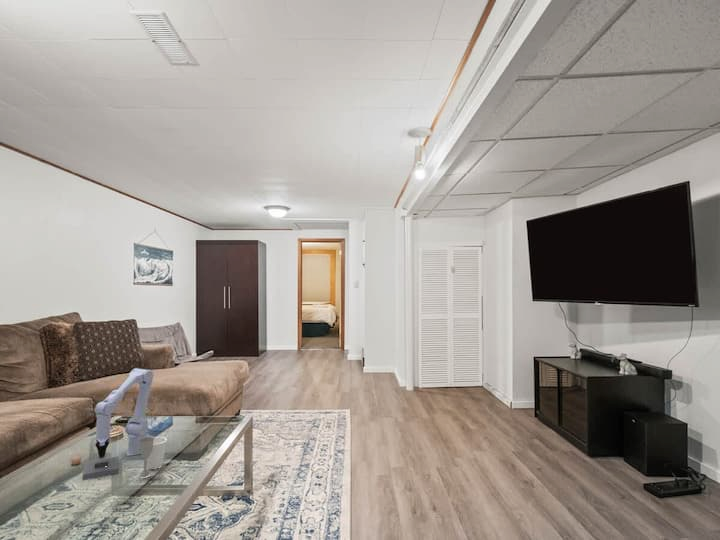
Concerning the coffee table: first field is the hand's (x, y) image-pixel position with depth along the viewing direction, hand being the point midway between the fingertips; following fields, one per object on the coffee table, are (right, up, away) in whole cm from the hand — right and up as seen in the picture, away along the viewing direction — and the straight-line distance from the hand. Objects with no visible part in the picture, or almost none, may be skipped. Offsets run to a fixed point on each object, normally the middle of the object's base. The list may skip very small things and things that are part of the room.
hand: (101, 455), depth 197 cm
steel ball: (0, 0, 0) cm, 0 cm away
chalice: (+23, -9, -4) cm, 25 cm away
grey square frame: (0, -7, 0) cm, 7 cm away
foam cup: (+23, -9, +6) cm, 25 cm away
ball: (-16, -5, +5) cm, 17 cm away
